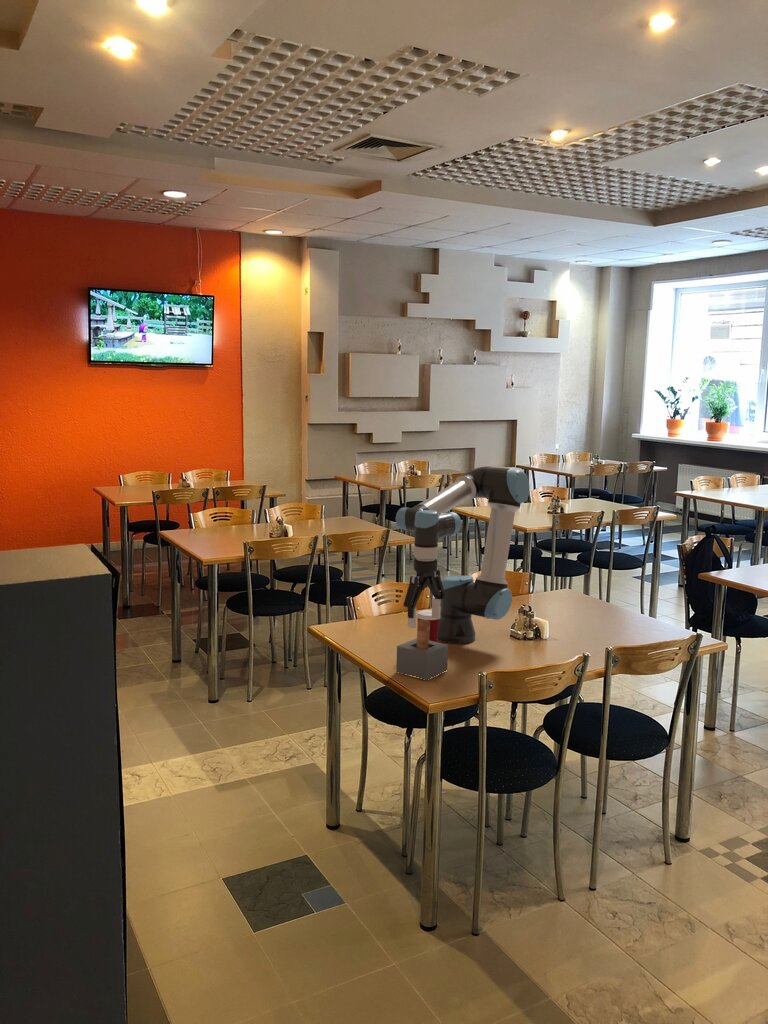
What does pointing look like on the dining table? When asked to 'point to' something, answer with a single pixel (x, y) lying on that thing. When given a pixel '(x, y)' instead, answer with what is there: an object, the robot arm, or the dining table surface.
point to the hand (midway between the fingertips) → (424, 622)
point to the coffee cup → (433, 623)
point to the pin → (423, 634)
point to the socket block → (422, 659)
